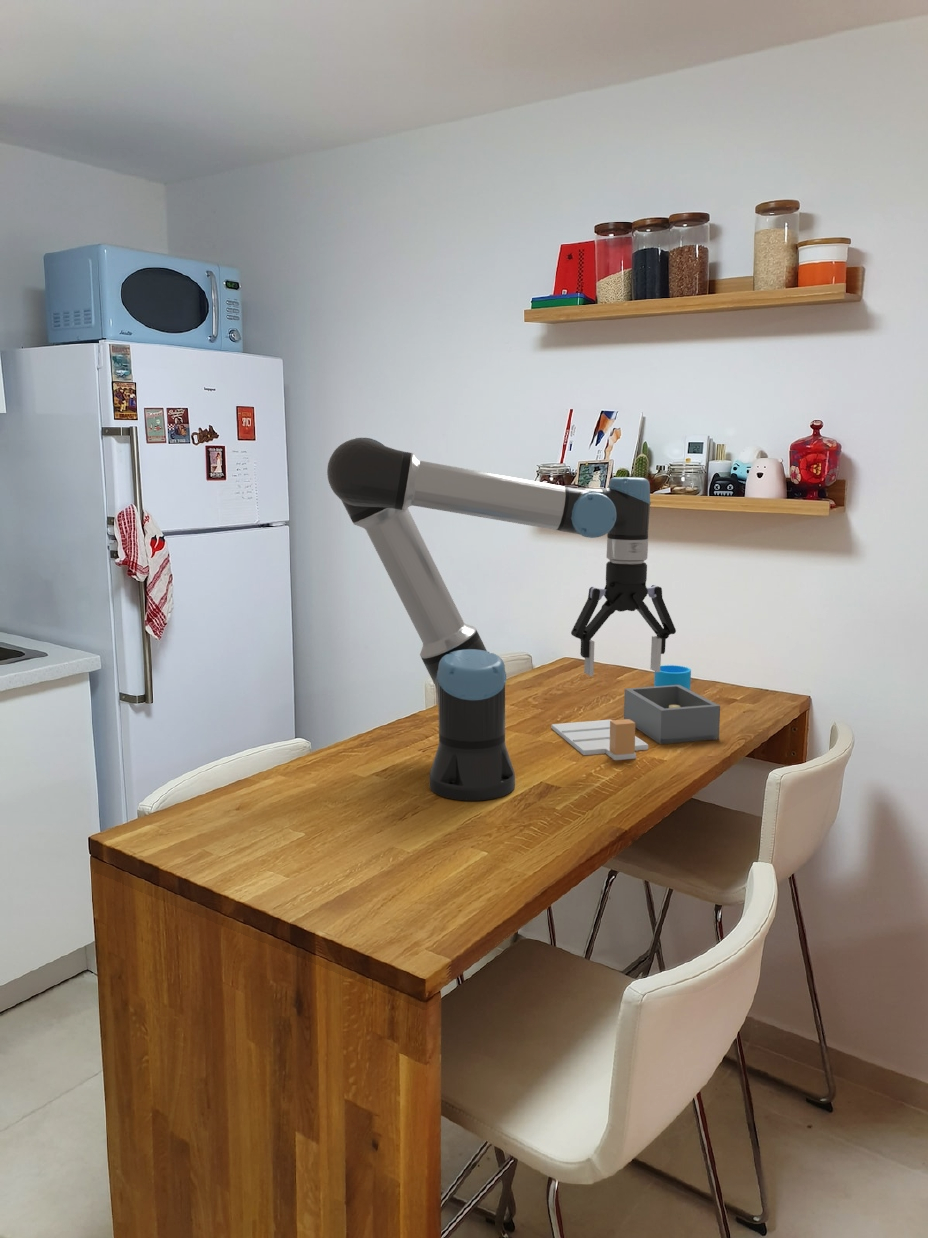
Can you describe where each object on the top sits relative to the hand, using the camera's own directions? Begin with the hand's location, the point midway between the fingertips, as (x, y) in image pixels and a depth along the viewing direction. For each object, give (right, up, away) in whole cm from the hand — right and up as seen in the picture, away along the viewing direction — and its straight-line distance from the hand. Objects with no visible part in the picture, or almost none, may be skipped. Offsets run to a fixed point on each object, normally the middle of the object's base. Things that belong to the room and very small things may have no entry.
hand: (622, 672), depth 182 cm
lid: (-2, -15, +12) cm, 19 cm away
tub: (+13, -13, +21) cm, 28 cm away
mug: (+19, -9, +42) cm, 47 cm away
